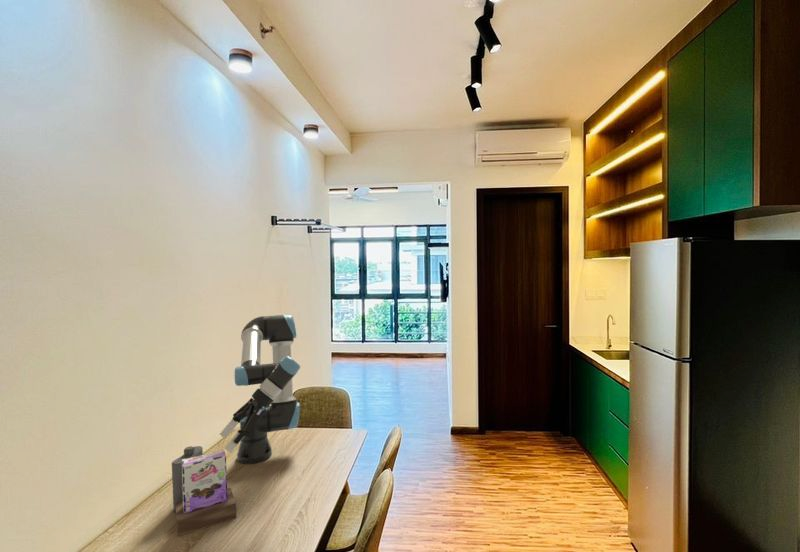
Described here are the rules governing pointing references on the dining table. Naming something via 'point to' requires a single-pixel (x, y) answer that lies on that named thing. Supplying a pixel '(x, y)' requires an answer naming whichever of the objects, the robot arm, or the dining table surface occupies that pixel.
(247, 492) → the dining table surface
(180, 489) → the flask
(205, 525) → the walnut plinth
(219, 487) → the candy box
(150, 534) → the dining table surface
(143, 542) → the dining table surface
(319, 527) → the dining table surface
